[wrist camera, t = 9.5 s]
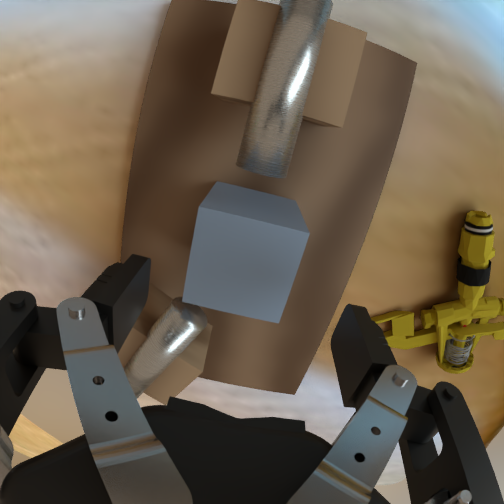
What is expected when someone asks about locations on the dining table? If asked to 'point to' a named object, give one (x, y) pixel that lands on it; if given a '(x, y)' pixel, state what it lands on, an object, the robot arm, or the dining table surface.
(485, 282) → the sprinkler
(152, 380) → the shaft
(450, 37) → the dining table surface
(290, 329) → the base board
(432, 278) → the dining table surface
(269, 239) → the block
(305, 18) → the shaft
